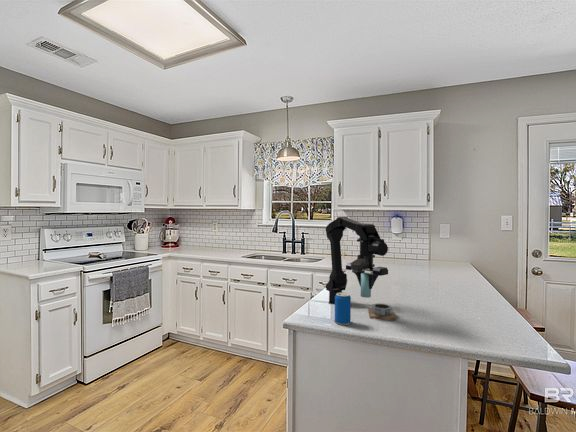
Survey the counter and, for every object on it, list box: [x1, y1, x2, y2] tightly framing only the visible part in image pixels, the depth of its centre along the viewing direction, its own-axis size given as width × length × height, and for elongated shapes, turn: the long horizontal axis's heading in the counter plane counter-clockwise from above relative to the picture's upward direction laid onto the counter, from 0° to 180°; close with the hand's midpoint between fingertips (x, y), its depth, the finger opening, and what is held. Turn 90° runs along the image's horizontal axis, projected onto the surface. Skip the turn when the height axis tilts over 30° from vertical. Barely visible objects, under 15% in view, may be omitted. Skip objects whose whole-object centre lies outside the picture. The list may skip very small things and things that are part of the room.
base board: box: [367, 308, 397, 321], centre depth 145 cm, size 11×11×1 cm
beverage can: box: [334, 291, 352, 326], centre depth 135 cm, size 6×6×12 cm
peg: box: [360, 272, 372, 298], centre depth 143 cm, size 4×4×10 cm
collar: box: [371, 302, 393, 316], centre depth 145 cm, size 8×8×3 cm
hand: (365, 288), depth 143 cm, fingers closed on peg, 4 cm apart
